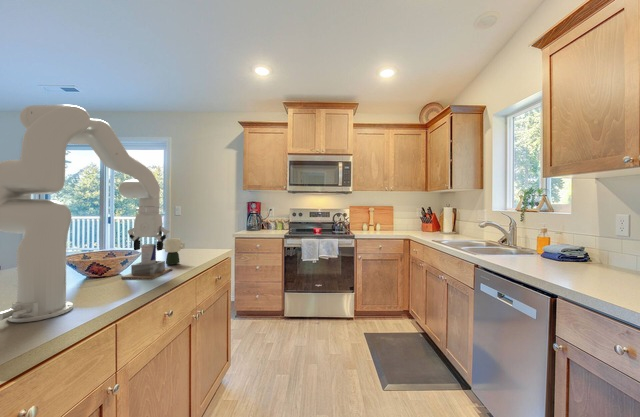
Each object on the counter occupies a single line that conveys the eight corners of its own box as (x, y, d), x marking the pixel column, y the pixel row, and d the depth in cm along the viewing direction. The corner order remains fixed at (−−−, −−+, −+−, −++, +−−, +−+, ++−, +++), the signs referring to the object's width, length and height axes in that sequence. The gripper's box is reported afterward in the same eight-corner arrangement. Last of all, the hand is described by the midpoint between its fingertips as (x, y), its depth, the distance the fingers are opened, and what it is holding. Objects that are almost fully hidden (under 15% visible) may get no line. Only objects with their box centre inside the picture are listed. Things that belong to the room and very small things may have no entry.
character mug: (186, 262, 142) (186, 238, 142) (182, 265, 135) (182, 239, 135) (163, 263, 140) (163, 238, 140) (158, 266, 133) (158, 240, 133)
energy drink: (158, 270, 120) (158, 243, 120) (149, 273, 115) (150, 245, 114) (147, 270, 120) (147, 243, 120) (138, 273, 115) (138, 245, 115)
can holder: (151, 279, 110) (151, 267, 110) (121, 279, 110) (121, 266, 109) (172, 270, 126) (172, 259, 126) (146, 269, 125) (146, 259, 125)
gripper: (122, 210, 113) (121, 251, 113) (164, 211, 114) (163, 251, 114) (134, 210, 121) (133, 248, 121) (173, 211, 121) (172, 249, 121)
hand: (148, 250), depth 117 cm, fingers open, 9 cm apart
